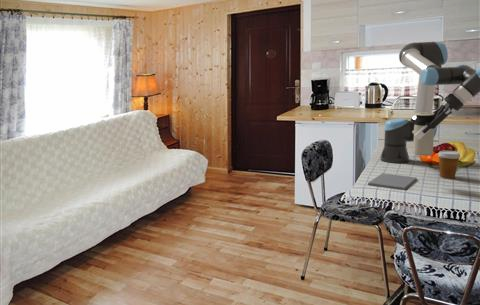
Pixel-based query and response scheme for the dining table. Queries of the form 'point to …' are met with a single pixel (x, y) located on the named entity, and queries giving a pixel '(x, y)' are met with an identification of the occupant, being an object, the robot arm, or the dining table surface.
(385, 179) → the placemat
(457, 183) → the dining table surface
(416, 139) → the travel mug
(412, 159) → the dining table surface
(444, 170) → the disposable coffee cup
